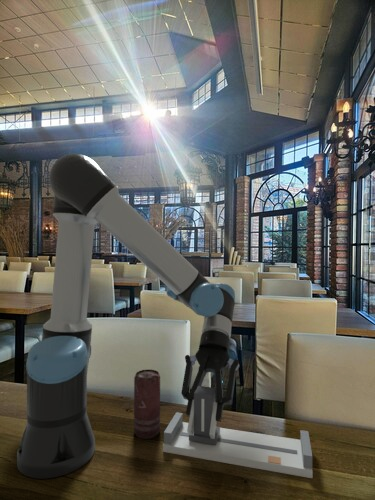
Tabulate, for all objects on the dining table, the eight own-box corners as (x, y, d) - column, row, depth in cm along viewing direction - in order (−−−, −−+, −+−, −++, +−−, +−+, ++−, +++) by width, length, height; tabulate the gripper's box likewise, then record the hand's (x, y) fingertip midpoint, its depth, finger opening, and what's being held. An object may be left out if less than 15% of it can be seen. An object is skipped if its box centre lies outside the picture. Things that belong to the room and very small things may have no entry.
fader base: (163, 451, 70) (163, 433, 70) (176, 427, 80) (177, 411, 80) (312, 478, 62) (312, 457, 62) (307, 447, 72) (308, 430, 72)
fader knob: (188, 440, 71) (189, 393, 71) (194, 428, 76) (194, 384, 76) (216, 445, 70) (216, 397, 70) (220, 432, 75) (220, 387, 75)
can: (156, 441, 74) (157, 379, 74) (130, 438, 75) (130, 376, 75) (164, 427, 80) (164, 369, 80) (139, 424, 81) (139, 367, 81)
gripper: (249, 346, 86) (243, 447, 70) (186, 341, 90) (166, 434, 74) (248, 331, 80) (240, 435, 65) (181, 326, 85) (158, 422, 69)
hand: (200, 434), depth 69 cm, fingers closed on fader knob, 4 cm apart
